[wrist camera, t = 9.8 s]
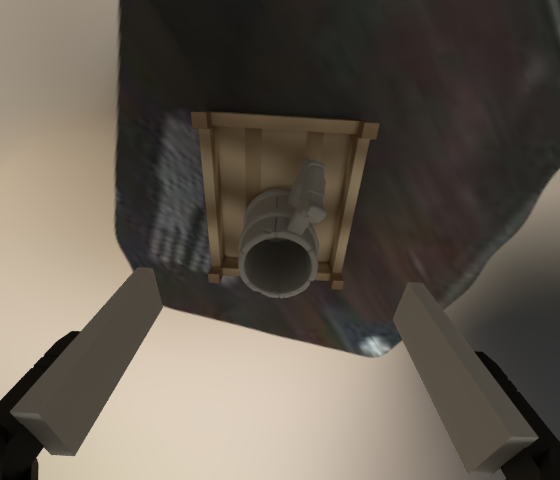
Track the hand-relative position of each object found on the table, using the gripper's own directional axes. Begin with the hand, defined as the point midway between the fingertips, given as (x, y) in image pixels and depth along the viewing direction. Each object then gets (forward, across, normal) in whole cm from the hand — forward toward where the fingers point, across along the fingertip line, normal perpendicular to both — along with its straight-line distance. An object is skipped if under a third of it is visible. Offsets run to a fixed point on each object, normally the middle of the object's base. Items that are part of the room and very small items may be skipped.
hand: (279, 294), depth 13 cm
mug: (+16, 0, -1) cm, 16 cm away
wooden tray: (+17, 0, -1) cm, 17 cm away
